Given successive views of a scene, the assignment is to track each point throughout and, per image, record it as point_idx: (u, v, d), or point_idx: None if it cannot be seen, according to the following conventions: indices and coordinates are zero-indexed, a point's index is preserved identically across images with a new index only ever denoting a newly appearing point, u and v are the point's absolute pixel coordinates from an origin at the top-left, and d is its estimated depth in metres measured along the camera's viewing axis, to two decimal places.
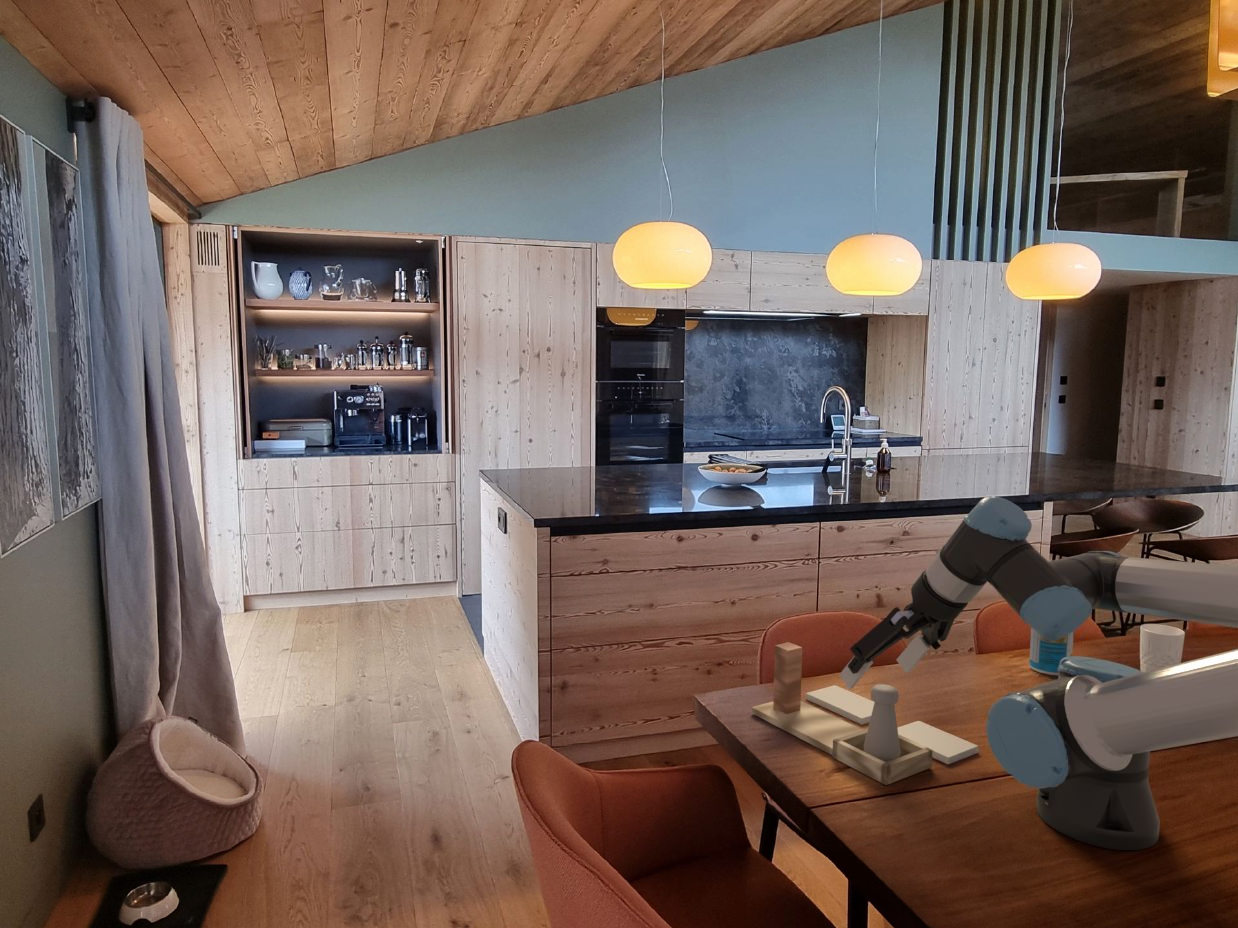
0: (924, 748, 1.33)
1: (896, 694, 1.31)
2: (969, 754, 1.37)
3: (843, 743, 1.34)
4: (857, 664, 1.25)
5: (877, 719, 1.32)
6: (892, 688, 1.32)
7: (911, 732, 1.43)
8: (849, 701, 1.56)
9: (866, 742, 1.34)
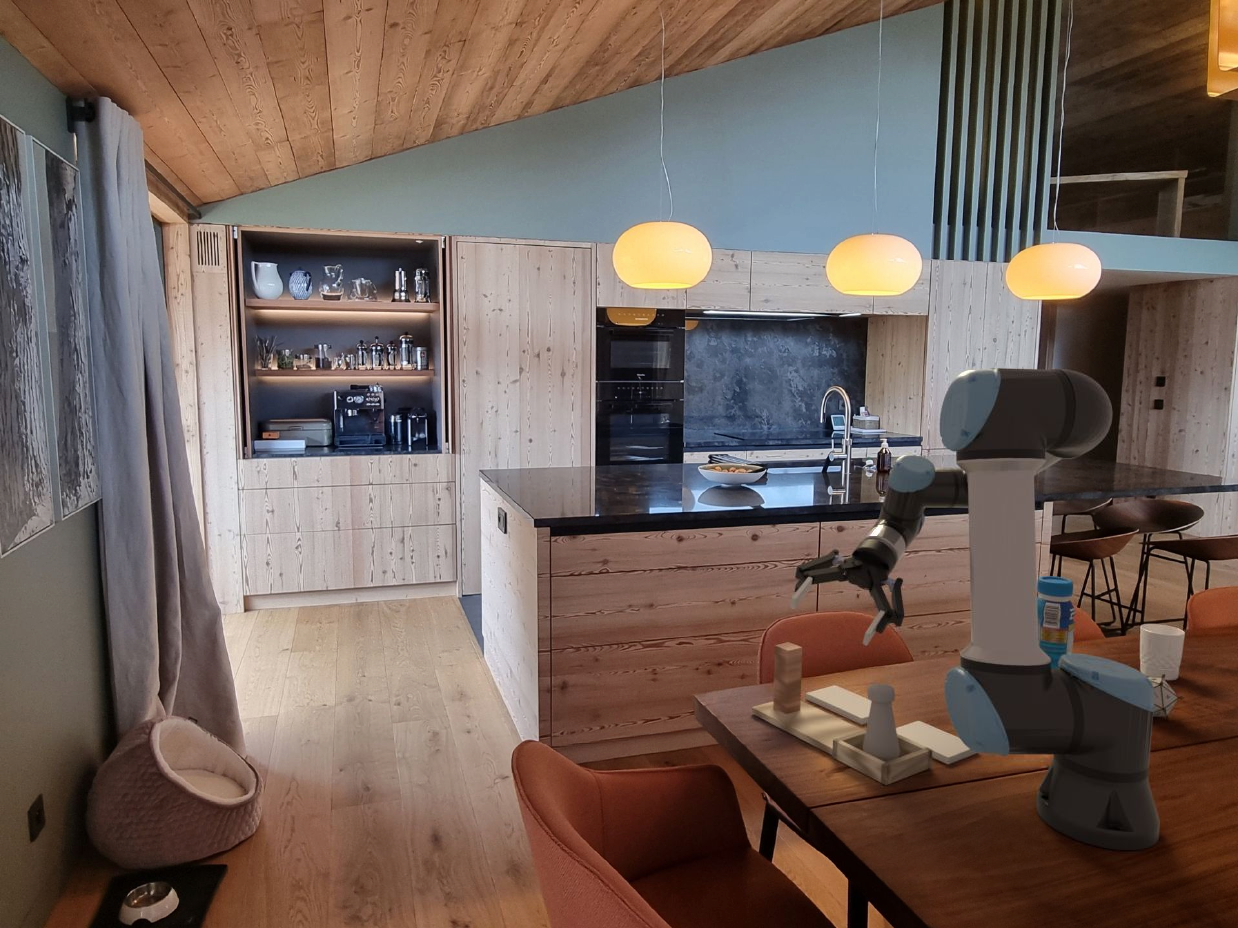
0: (924, 748, 1.33)
1: (892, 692, 1.32)
2: (969, 754, 1.37)
3: (843, 743, 1.34)
4: (799, 580, 1.48)
5: (874, 718, 1.32)
6: (888, 686, 1.33)
7: (911, 732, 1.43)
8: (849, 701, 1.56)
9: (865, 742, 1.34)
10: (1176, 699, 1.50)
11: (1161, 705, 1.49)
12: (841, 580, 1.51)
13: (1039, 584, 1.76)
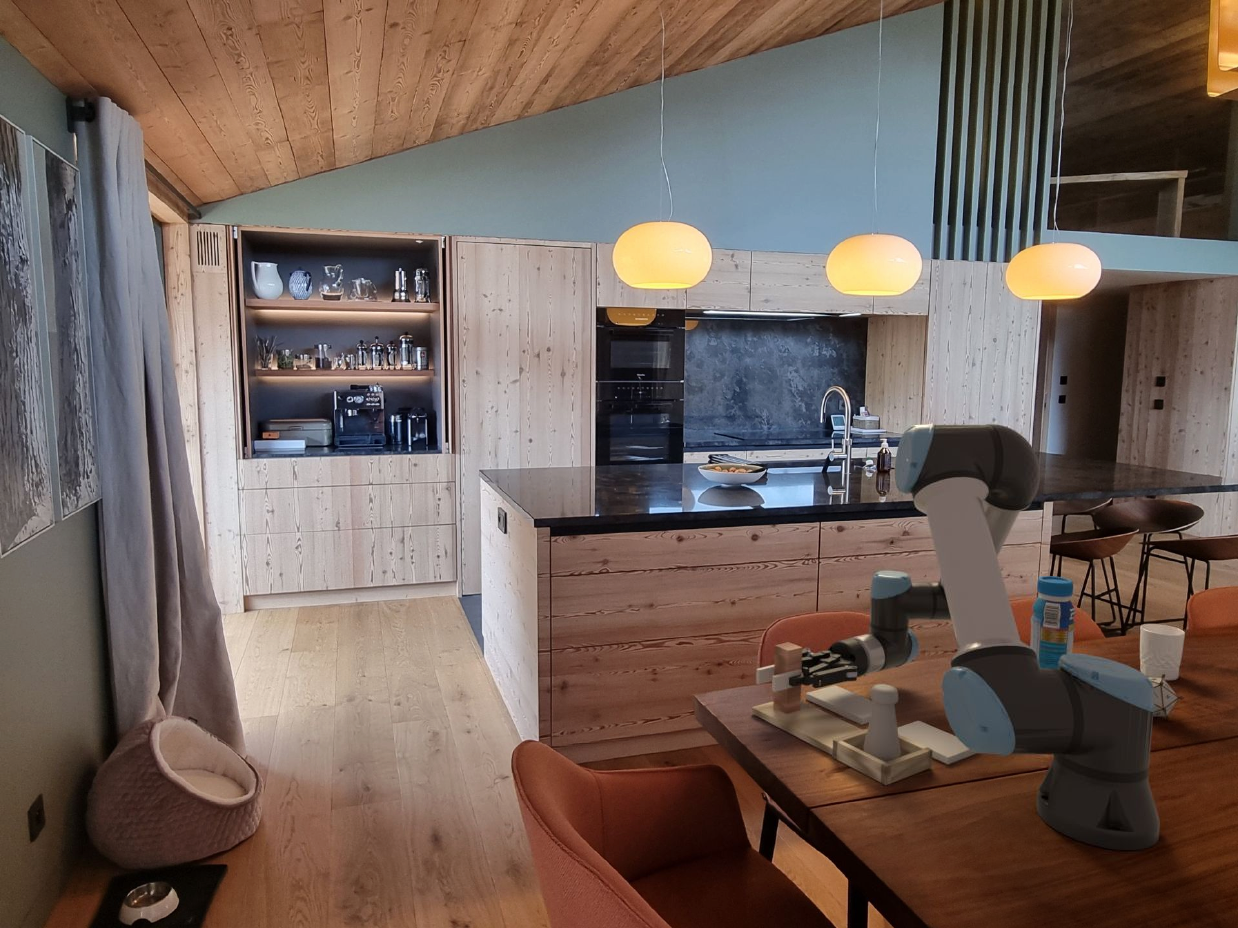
0: (924, 748, 1.33)
1: (896, 694, 1.32)
2: (969, 754, 1.37)
3: (843, 743, 1.34)
4: None
5: (877, 719, 1.32)
6: (892, 688, 1.32)
7: (911, 732, 1.43)
8: (849, 701, 1.56)
9: (866, 742, 1.34)
10: (1176, 699, 1.50)
11: (1161, 705, 1.49)
12: None
13: (1039, 584, 1.76)
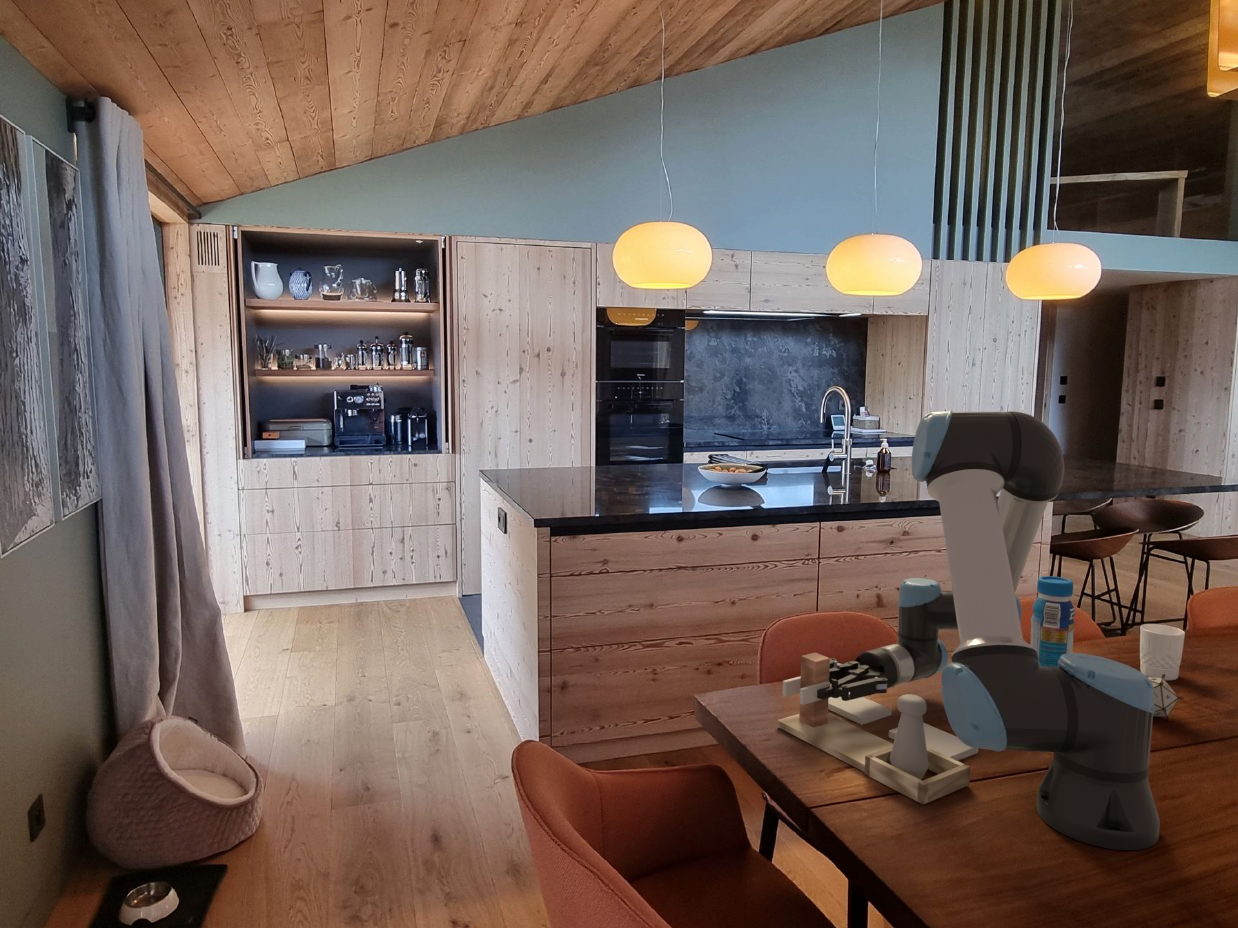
0: (961, 764, 1.27)
1: (924, 704, 1.27)
2: (969, 754, 1.37)
3: (876, 759, 1.29)
4: None
5: (905, 731, 1.28)
6: (920, 698, 1.28)
7: None
8: (849, 701, 1.56)
9: (893, 755, 1.29)
10: (1176, 699, 1.50)
11: (1161, 705, 1.49)
12: None
13: (1039, 584, 1.76)
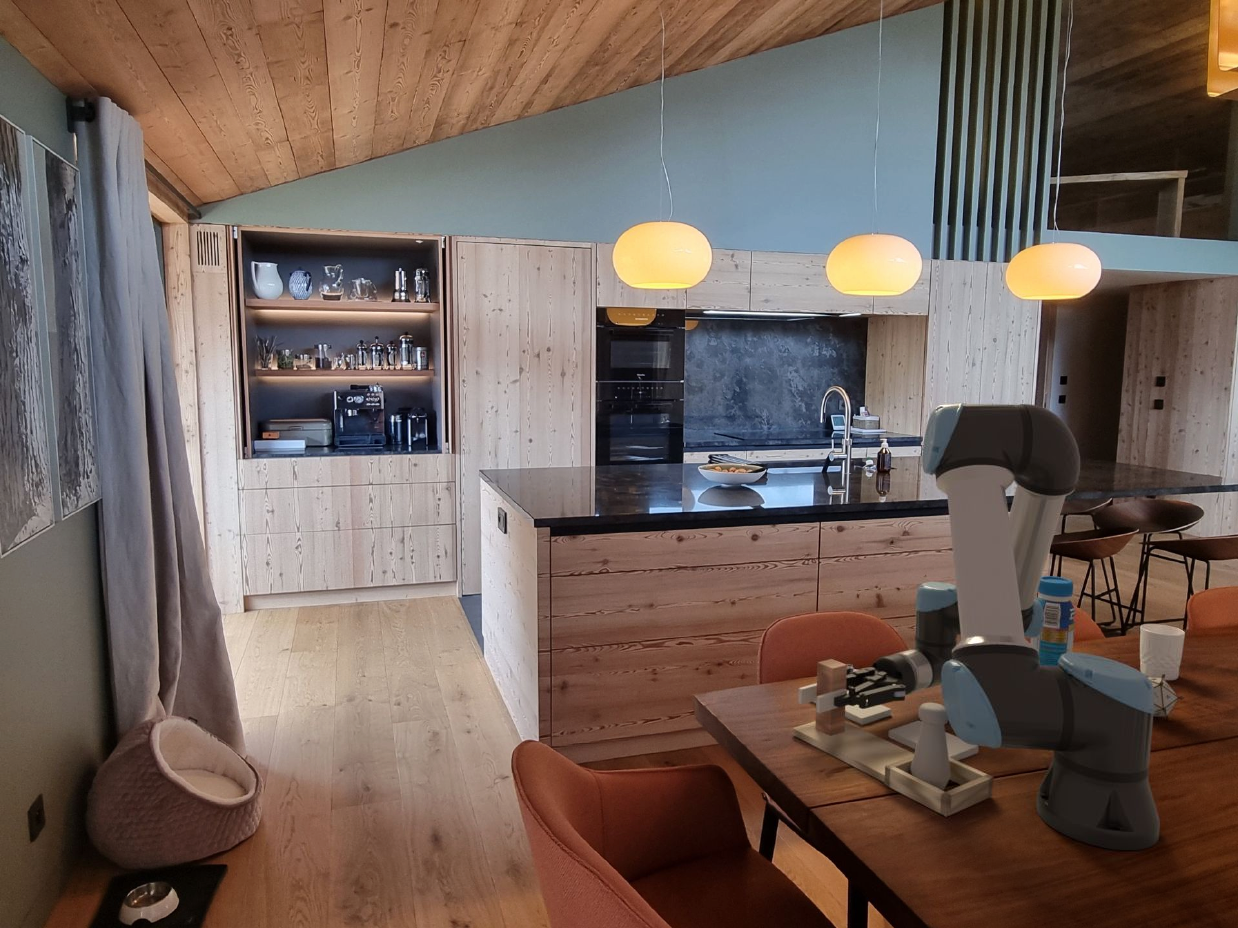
0: (984, 775, 1.24)
1: None
2: (969, 754, 1.37)
3: (897, 770, 1.25)
4: None
5: (927, 741, 1.24)
6: (942, 707, 1.25)
7: (911, 732, 1.43)
8: None
9: (915, 765, 1.26)
10: (1176, 699, 1.50)
11: (1161, 705, 1.49)
12: None
13: (1039, 584, 1.76)
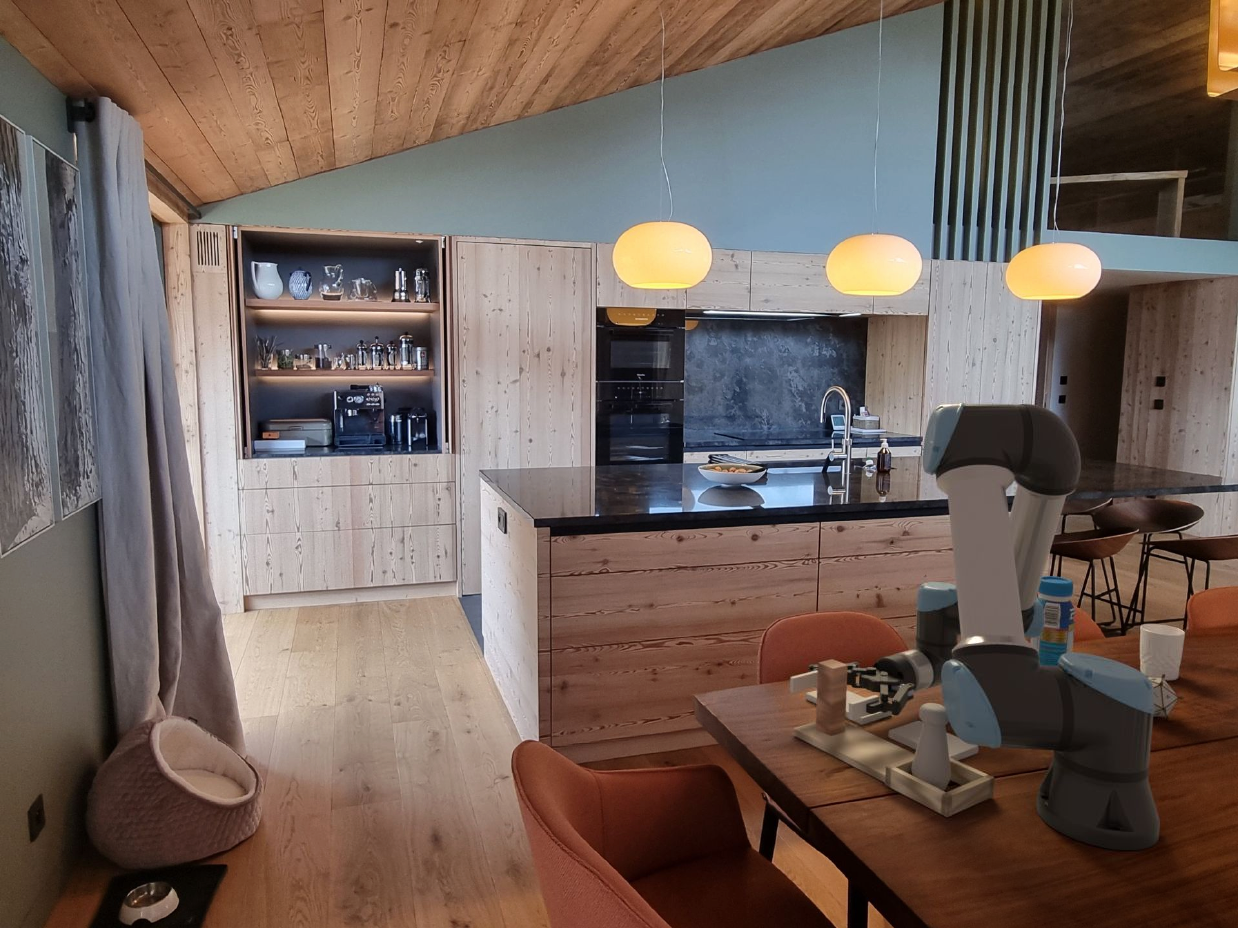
0: (985, 775, 1.24)
1: None
2: (969, 754, 1.37)
3: (897, 770, 1.25)
4: None
5: (928, 741, 1.24)
6: (943, 707, 1.25)
7: (911, 732, 1.43)
8: (849, 701, 1.56)
9: (915, 765, 1.26)
10: (1176, 699, 1.50)
11: (1161, 705, 1.49)
12: (854, 686, 1.50)
13: None
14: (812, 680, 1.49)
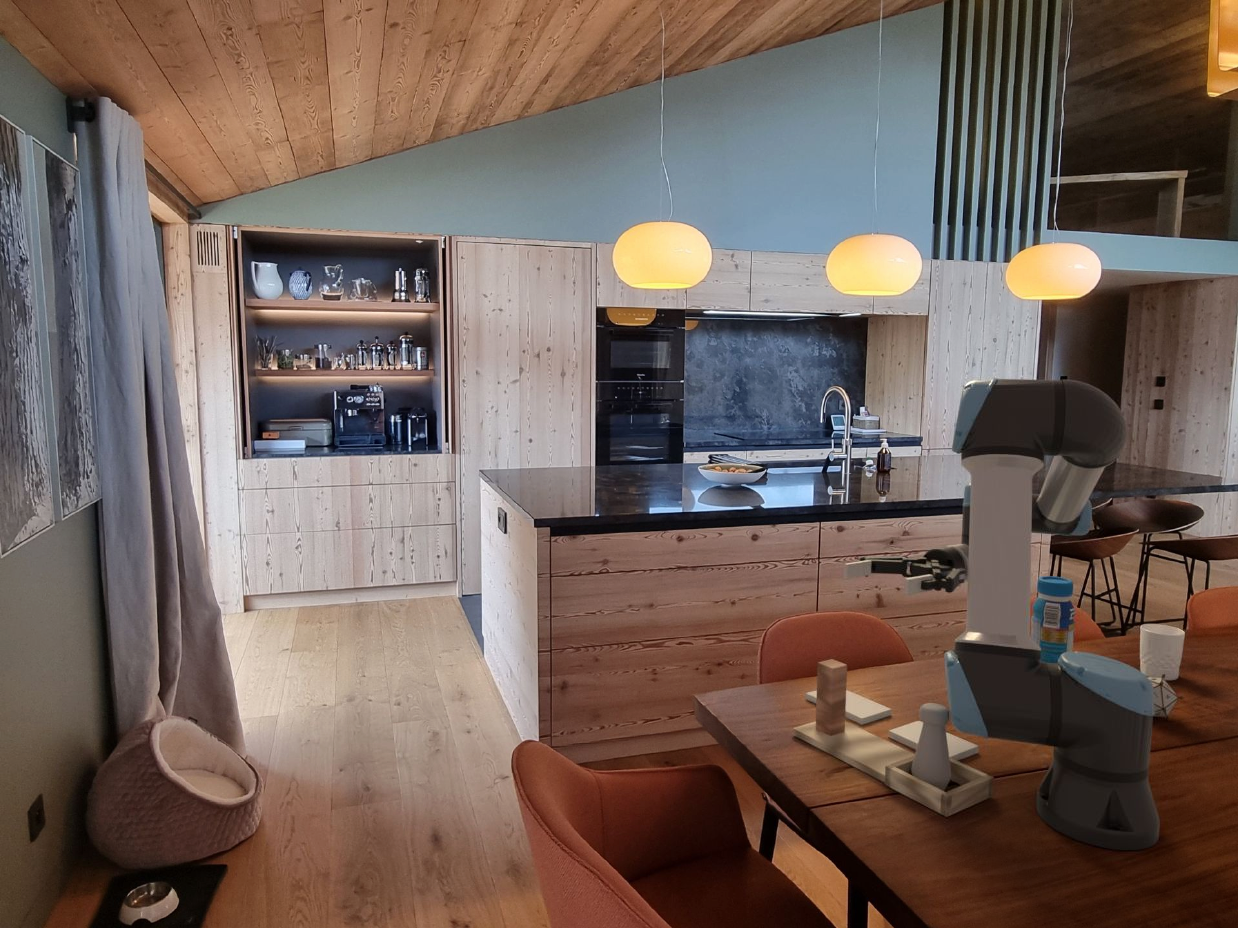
0: (985, 775, 1.24)
1: (948, 713, 1.24)
2: (969, 754, 1.37)
3: (897, 770, 1.25)
4: None
5: (928, 741, 1.24)
6: (942, 707, 1.25)
7: (911, 732, 1.43)
8: (849, 701, 1.56)
9: (915, 765, 1.26)
10: (1176, 699, 1.50)
11: (1161, 705, 1.49)
12: (905, 575, 1.55)
13: (1039, 584, 1.76)
14: (864, 568, 1.54)
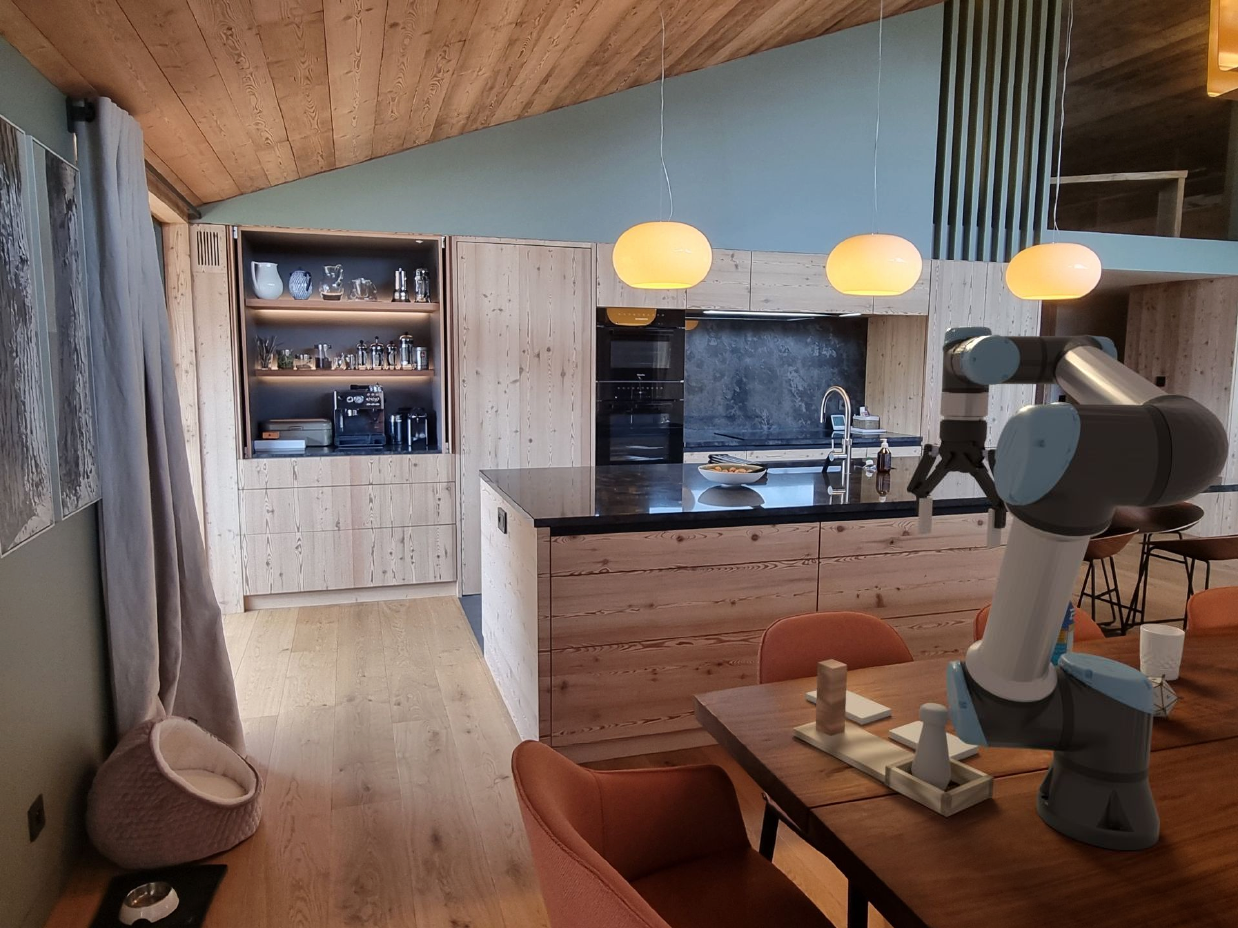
0: (985, 775, 1.24)
1: (948, 713, 1.24)
2: (969, 754, 1.37)
3: (897, 770, 1.25)
4: None
5: (928, 741, 1.24)
6: (942, 707, 1.25)
7: (911, 732, 1.43)
8: (849, 701, 1.56)
9: (915, 765, 1.26)
10: (1176, 699, 1.50)
11: (1161, 705, 1.49)
12: None
13: None
14: (927, 507, 1.48)
